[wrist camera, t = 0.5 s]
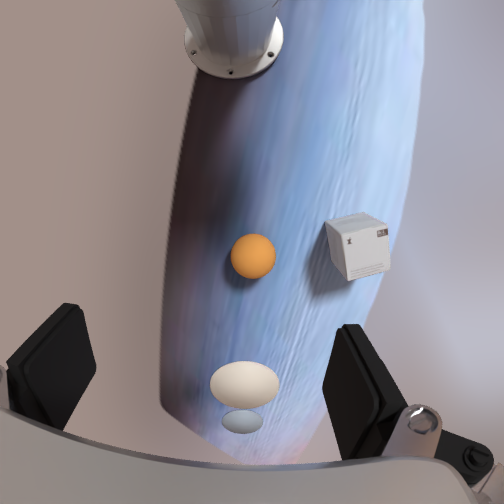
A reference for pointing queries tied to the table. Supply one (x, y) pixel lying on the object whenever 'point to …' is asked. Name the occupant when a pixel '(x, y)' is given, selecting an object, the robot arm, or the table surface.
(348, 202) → the table surface
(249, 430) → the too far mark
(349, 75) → the table surface
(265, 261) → the ball
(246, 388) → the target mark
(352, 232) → the skincare box
